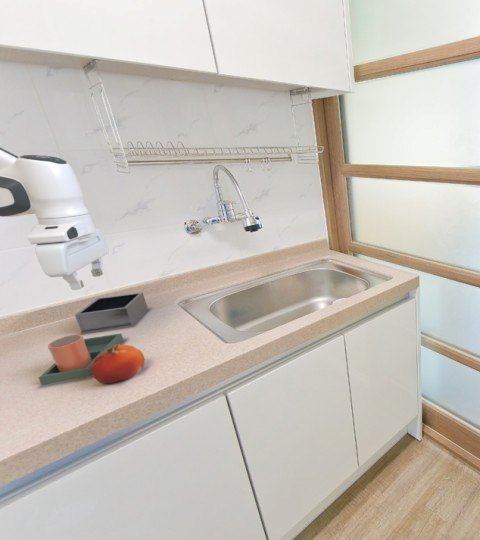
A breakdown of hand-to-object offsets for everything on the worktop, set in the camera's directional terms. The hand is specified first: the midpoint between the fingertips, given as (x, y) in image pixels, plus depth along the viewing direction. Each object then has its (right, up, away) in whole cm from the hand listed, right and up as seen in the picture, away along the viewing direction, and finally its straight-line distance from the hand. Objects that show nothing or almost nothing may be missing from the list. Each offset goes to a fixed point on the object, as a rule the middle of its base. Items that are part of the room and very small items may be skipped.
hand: (89, 281), depth 82 cm
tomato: (+12, -23, -4) cm, 26 cm away
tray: (-3, -21, +2) cm, 21 cm away
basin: (-13, -14, +23) cm, 30 cm away
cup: (-1, -21, -2) cm, 22 cm away
